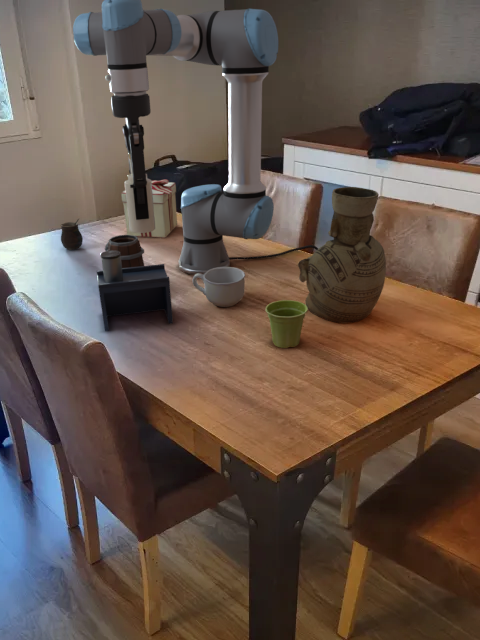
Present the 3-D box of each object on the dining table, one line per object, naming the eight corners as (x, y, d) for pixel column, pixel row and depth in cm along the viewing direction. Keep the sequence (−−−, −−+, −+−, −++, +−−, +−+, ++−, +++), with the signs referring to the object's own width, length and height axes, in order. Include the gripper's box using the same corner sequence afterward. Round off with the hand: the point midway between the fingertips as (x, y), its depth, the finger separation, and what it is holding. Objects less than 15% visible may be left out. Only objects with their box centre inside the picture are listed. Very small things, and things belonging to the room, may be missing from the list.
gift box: (123, 240, 217) (116, 188, 208) (136, 224, 232) (131, 175, 223) (171, 240, 214) (167, 187, 205) (182, 224, 229) (178, 174, 220)
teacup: (251, 297, 170) (251, 269, 166) (235, 313, 162) (235, 283, 158) (204, 291, 175) (203, 263, 171) (187, 306, 167) (185, 277, 163)
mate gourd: (66, 244, 216) (61, 214, 210) (87, 244, 215) (83, 214, 209) (59, 251, 210) (53, 221, 204) (81, 251, 209) (76, 221, 203)
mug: (158, 291, 177) (153, 238, 168) (122, 303, 171) (115, 249, 162) (127, 277, 187) (121, 226, 179) (92, 288, 181) (84, 236, 173)
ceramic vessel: (291, 300, 168) (295, 181, 151) (371, 297, 167) (384, 178, 150) (299, 331, 152) (305, 203, 135) (388, 328, 151) (404, 199, 135)
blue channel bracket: (167, 308, 167) (163, 263, 160) (172, 323, 159) (169, 277, 152) (103, 315, 165) (96, 270, 158) (104, 331, 157) (98, 285, 150)
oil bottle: (154, 224, 140) (147, 149, 132) (156, 231, 136) (150, 154, 127) (128, 226, 140) (120, 151, 131) (130, 234, 135) (122, 156, 126)
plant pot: (295, 355, 142) (296, 319, 137) (258, 346, 146) (258, 311, 141) (312, 339, 148) (314, 304, 143) (276, 331, 152) (277, 297, 148)
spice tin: (122, 275, 157) (119, 249, 154) (124, 282, 153) (121, 255, 150) (103, 277, 157) (99, 251, 153) (104, 284, 153) (100, 257, 149)
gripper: (108, 90, 130) (121, 205, 143) (112, 100, 115) (126, 228, 128) (144, 87, 131) (154, 202, 144) (154, 97, 116) (163, 225, 129)
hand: (141, 214), depth 136 cm, fingers closed on oil bottle, 6 cm apart
